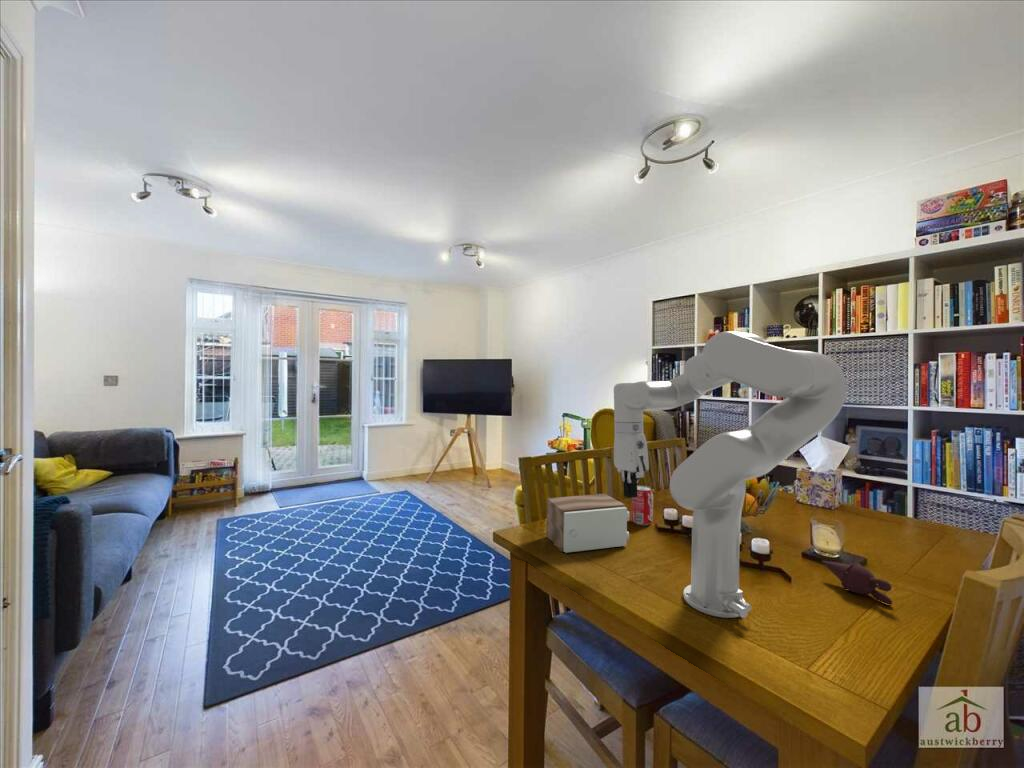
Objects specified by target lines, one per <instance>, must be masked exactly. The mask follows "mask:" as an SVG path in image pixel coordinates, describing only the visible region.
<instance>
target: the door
mask: <svg viewBox="0 0 1024 768" xmlns="http://www.w3.org/2000/svg"><path fill="white" fill-rule="evenodd" d="M628 521H630V511H628V508H627V507H626V506H625V507H618V508H606V509H595V510H584V511H572V512H564V535H563V551H564V552H565V553H564V554H567V553H573V552H574V553H575V552H584V551H592V550H599V549H610V548H615V547H624V546H625V547H626V546H627V545H628V543H627V542H629V541H630V540H629V539H630V532H629V531H628Z"/></svg>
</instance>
